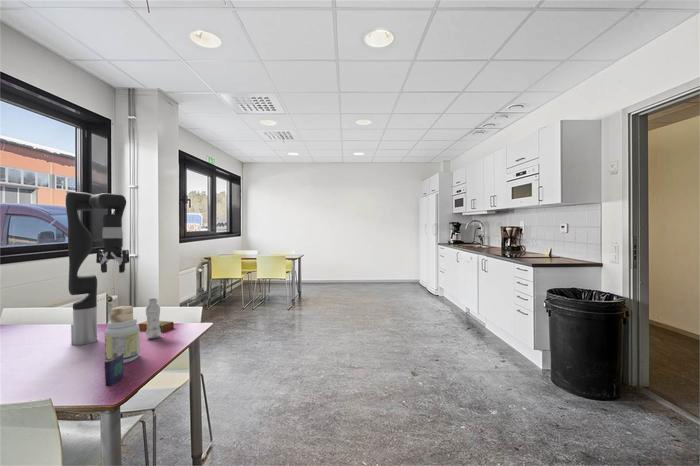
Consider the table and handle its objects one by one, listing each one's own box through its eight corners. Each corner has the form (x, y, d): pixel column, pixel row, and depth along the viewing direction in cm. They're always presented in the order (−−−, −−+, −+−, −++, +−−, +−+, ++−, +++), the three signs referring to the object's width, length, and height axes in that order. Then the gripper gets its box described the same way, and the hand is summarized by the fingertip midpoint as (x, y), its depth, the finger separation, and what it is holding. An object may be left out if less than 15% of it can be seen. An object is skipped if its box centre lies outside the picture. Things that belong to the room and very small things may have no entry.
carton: (151, 326, 186) (151, 319, 186) (174, 328, 182) (174, 321, 182) (138, 331, 178) (138, 323, 178) (162, 333, 174) (162, 325, 174)
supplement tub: (110, 356, 141) (109, 318, 141) (142, 352, 146) (142, 315, 145) (100, 367, 130) (100, 325, 130) (136, 362, 134) (135, 322, 134)
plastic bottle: (154, 340, 161) (153, 300, 161) (142, 339, 163) (142, 300, 162) (164, 336, 168) (163, 298, 167) (152, 335, 169) (152, 297, 169)
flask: (118, 375, 122) (117, 347, 122) (126, 375, 122) (126, 347, 122) (103, 387, 113) (102, 357, 113) (112, 386, 113) (111, 356, 113)
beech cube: (110, 322, 135) (110, 309, 135) (121, 318, 140) (121, 305, 140) (123, 322, 134) (122, 309, 134) (133, 318, 140) (132, 306, 140)
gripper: (90, 237, 144) (91, 273, 144) (120, 237, 143) (121, 273, 143) (105, 237, 152) (105, 271, 152) (133, 237, 150) (133, 271, 151)
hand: (113, 272), depth 147 cm, fingers open, 8 cm apart
